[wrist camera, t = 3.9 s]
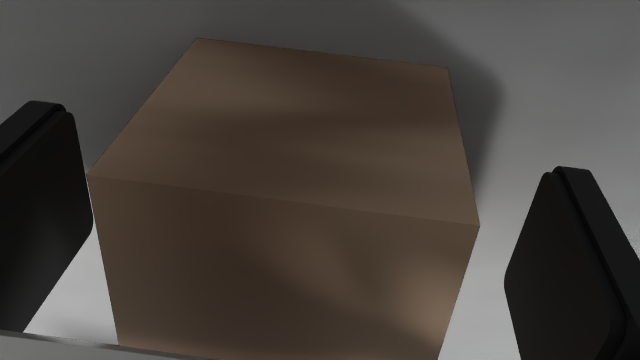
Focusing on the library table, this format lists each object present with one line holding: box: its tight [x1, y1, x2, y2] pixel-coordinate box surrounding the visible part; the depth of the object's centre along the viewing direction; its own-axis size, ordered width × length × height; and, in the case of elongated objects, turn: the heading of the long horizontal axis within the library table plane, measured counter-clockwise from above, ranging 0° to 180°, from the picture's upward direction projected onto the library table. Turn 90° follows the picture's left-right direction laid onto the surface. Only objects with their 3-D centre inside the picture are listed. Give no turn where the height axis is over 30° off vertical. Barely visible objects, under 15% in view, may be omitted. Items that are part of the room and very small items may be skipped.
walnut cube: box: [86, 38, 480, 360], centre depth 10 cm, size 5×5×5 cm
